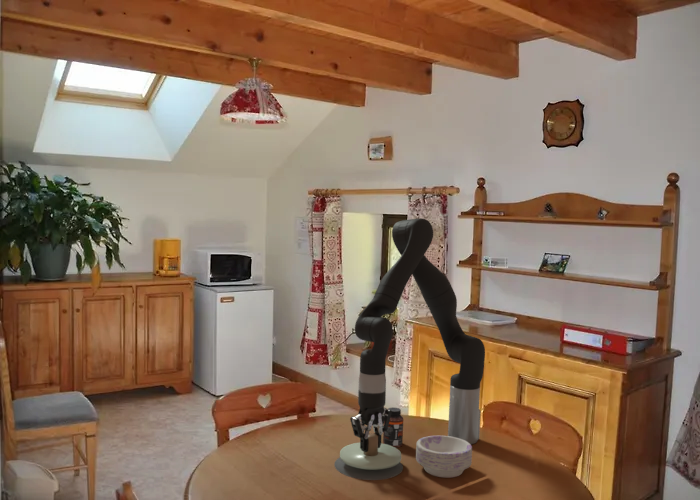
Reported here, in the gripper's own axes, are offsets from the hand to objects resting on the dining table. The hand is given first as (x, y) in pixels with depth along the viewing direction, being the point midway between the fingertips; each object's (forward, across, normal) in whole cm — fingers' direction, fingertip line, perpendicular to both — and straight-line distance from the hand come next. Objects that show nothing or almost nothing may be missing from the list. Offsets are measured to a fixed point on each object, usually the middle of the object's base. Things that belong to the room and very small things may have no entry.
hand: (370, 448), depth 172 cm
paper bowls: (+6, -15, +14) cm, 21 cm away
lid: (+2, 0, 0) cm, 2 cm away
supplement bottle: (+6, -17, -8) cm, 19 cm away
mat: (+5, 0, 0) cm, 5 cm away
